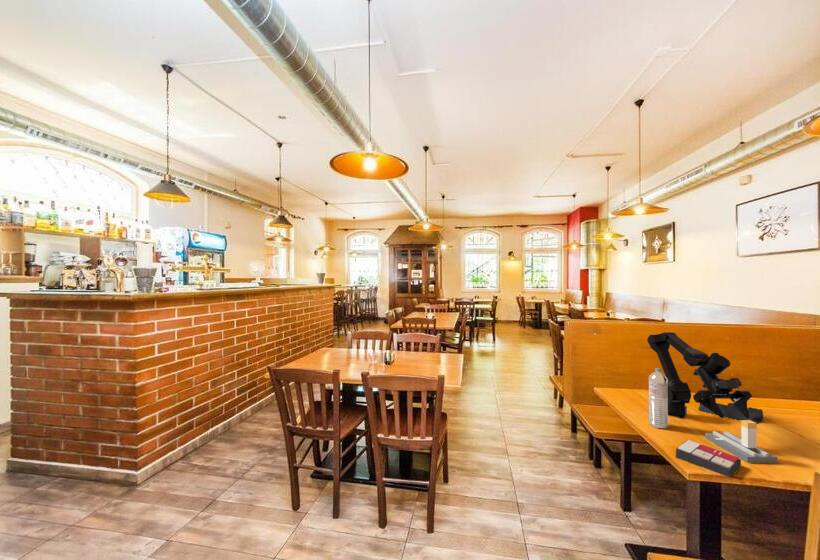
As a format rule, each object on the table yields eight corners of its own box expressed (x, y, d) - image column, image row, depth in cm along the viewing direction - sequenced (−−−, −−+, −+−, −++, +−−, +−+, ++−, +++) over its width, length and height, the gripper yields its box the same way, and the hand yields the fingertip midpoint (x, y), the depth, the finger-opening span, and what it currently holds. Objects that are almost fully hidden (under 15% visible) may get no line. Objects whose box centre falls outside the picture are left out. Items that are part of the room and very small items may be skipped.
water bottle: (671, 429, 144) (671, 371, 144) (653, 428, 146) (653, 370, 145) (663, 423, 151) (662, 366, 151) (645, 421, 152) (645, 366, 152)
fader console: (705, 438, 137) (705, 430, 137) (731, 438, 136) (731, 430, 136) (747, 462, 119) (747, 454, 119) (777, 463, 118) (777, 454, 118)
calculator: (731, 467, 110) (675, 446, 123) (730, 480, 110) (675, 457, 123) (741, 457, 116) (687, 437, 129) (740, 469, 116) (686, 448, 129)
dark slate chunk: (703, 403, 174) (703, 394, 174) (765, 417, 157) (765, 407, 157) (695, 411, 164) (695, 401, 164) (760, 426, 147) (760, 416, 147)
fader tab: (740, 446, 125) (740, 419, 125) (749, 446, 125) (749, 419, 125) (748, 451, 122) (748, 423, 122) (757, 451, 122) (757, 423, 122)
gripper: (698, 370, 134) (723, 408, 123) (747, 369, 133) (776, 408, 122) (683, 383, 142) (705, 421, 131) (729, 383, 141) (755, 421, 130)
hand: (735, 417), depth 129 cm, fingers open, 9 cm apart
